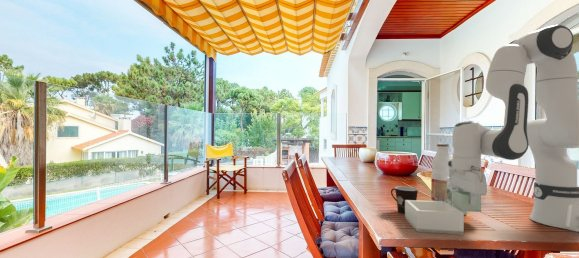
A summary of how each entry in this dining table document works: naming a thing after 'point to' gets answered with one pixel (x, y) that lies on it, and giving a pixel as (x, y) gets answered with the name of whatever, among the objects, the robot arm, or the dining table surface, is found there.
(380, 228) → the dining table surface
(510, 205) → the dining table surface
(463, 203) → the small crate
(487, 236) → the dining table surface
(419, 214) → the box
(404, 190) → the coffee mug
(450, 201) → the syrup box
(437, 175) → the fruit juice
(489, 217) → the dining table surface
